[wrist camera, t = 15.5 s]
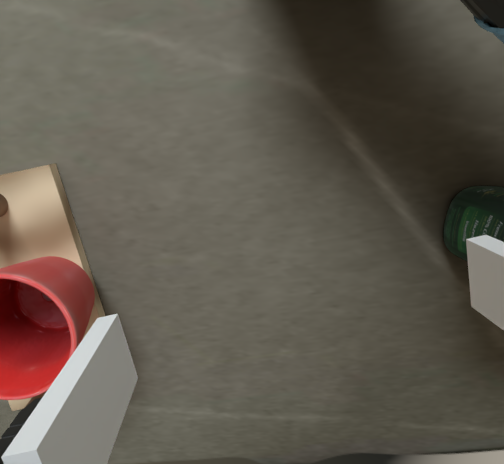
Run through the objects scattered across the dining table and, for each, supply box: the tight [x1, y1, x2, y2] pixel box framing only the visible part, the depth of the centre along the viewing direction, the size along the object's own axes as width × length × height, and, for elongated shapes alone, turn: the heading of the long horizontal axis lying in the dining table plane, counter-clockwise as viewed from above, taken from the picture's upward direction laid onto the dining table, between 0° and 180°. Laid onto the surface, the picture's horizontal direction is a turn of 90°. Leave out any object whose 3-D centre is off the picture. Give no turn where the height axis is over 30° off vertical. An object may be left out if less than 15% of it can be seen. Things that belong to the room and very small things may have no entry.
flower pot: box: [0, 256, 95, 400], centre depth 36 cm, size 11×11×10 cm
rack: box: [0, 163, 105, 411], centre depth 38 cm, size 24×12×10 cm, turn 12°
